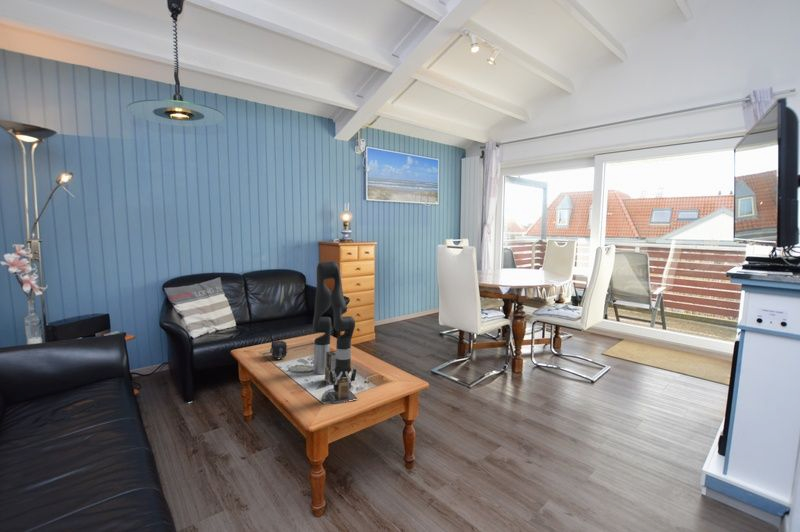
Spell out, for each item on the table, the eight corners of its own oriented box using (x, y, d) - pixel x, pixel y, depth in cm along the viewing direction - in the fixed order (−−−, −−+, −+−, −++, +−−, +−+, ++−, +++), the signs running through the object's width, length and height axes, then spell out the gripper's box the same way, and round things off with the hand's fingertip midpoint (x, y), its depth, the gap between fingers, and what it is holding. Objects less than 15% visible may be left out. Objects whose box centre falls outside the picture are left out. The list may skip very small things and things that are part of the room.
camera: (288, 361, 241) (283, 353, 254) (289, 344, 240) (284, 337, 253) (272, 363, 236) (267, 355, 249) (273, 346, 235) (268, 338, 247)
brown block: (335, 393, 183) (335, 376, 182) (344, 392, 185) (345, 375, 185) (339, 398, 176) (339, 381, 176) (349, 397, 179) (349, 380, 178)
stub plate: (326, 395, 183) (327, 381, 183) (349, 391, 189) (349, 379, 189) (333, 404, 173) (333, 390, 172) (357, 400, 178) (357, 387, 178)
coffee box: (341, 383, 201) (342, 354, 200) (329, 385, 198) (330, 355, 197) (335, 378, 209) (336, 350, 208) (324, 379, 206) (325, 351, 205)
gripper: (354, 353, 187) (353, 386, 187) (326, 356, 180) (325, 389, 181) (359, 357, 180) (358, 391, 180) (331, 360, 174) (329, 395, 174)
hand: (341, 390), depth 181 cm, fingers open, 5 cm apart
